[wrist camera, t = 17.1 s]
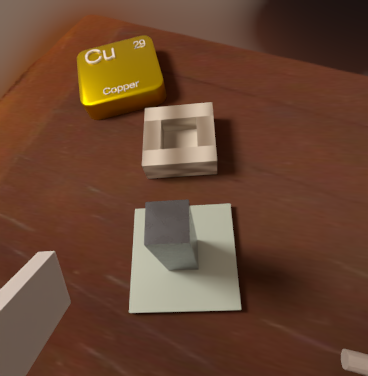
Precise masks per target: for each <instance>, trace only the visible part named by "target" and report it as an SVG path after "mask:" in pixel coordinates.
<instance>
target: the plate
mask: <svg viewBox="0 0 368 376" xmlns="http://www.w3.org/2000/svg"><path fill="white" fill-rule="evenodd" d="M190 208H191V213H192V217H193V222H194V226H195V231H196V235H197V242H198V264H199V269H198V270H172V271H168V270H167V269H166V267H165V266H164V265H163V264H162V263H161V262H160V261H159V260H158V259H157V258H156V257H155V256H154V255H153V254H152V253H151V252H150V251H149V250H148V249H147V248H146V247H145V246H144V229H145V209H135V221H134V237H133V254H132V271H131V287H130V304H129V313H151V312H188V311H226V310H241V301H240V292H239V282H238V272H237V263H236V253H235V243H234V234H233V224H232V214H231V205H230V204H214V205H197V206H190Z"/></svg>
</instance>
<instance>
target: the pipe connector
mask: <svg viewBox="0 0 368 376" xmlns="http://www.w3.org/2000/svg"><path fill="white" fill-rule="evenodd" d="M341 364H342V367H343V368H344V369H345V370H348V371H351V372H355V373H359V374H363V375H366V376H368V354H364V353H360V352H356V351H352V350H348V349H343V350H342V352H341Z"/></svg>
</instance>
